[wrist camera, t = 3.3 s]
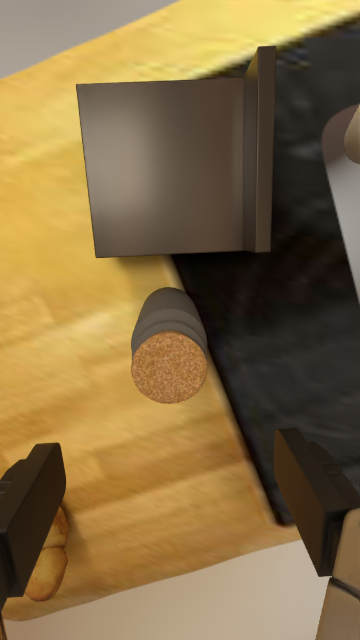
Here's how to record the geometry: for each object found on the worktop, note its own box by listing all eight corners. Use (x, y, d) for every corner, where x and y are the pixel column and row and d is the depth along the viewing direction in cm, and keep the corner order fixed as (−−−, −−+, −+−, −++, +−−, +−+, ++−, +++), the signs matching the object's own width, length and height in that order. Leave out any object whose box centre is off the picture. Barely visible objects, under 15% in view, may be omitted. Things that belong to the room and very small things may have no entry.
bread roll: (-14, 553, 41) (-57, 627, 33) (-37, 493, 38) (-88, 558, 31) (82, 540, 41) (62, 611, 33) (66, 480, 38) (40, 540, 31)
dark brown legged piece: (107, 255, 32) (83, 261, 23) (92, 111, 28) (56, 52, 19) (242, 248, 32) (271, 252, 23) (243, 105, 29) (276, 45, 20)
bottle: (147, 342, 34) (131, 419, 20) (137, 291, 33) (113, 332, 18) (199, 334, 34) (222, 405, 20) (191, 282, 33) (210, 317, 18)
